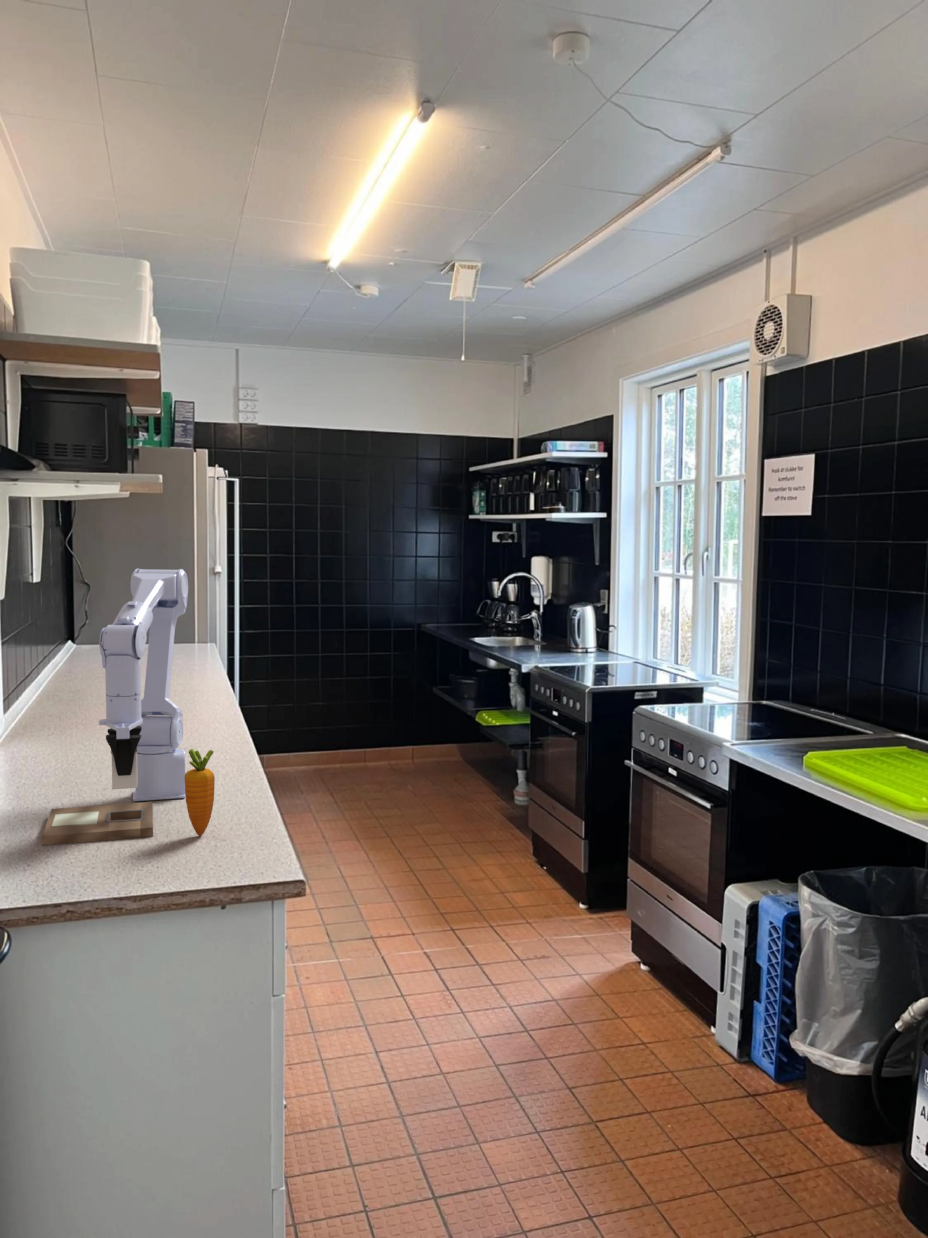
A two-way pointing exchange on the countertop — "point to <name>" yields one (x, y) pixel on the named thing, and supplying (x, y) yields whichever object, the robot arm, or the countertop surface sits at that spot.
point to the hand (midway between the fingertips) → (124, 772)
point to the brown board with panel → (98, 823)
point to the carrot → (199, 791)
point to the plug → (127, 780)
